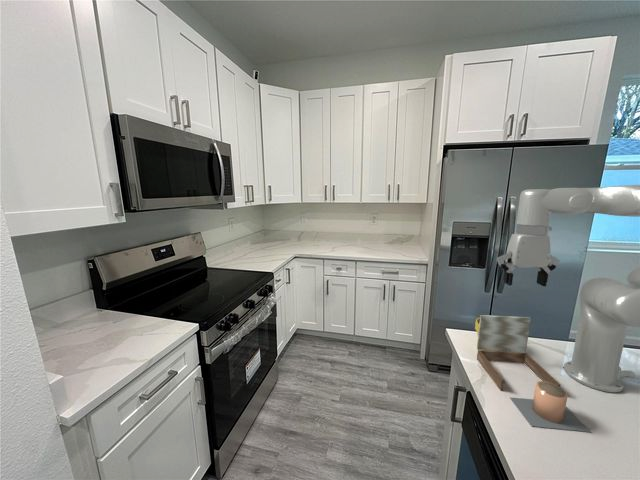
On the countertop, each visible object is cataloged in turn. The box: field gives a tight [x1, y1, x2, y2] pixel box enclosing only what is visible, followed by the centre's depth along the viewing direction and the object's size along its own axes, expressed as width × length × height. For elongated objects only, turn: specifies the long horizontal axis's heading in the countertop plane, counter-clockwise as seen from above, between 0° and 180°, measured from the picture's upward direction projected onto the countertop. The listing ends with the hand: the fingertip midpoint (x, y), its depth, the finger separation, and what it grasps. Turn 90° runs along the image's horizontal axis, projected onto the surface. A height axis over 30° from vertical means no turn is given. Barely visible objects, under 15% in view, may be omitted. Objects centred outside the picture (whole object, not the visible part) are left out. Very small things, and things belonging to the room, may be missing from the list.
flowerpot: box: [532, 380, 569, 423], centre depth 65 cm, size 6×6×7 cm
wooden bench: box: [476, 314, 562, 392], centre depth 79 cm, size 15×15×16 cm
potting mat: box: [509, 396, 592, 433], centre depth 66 cm, size 13×9×1 cm
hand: (524, 284), depth 80 cm, fingers open, 9 cm apart
